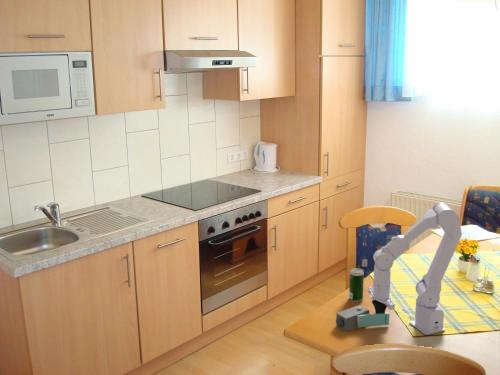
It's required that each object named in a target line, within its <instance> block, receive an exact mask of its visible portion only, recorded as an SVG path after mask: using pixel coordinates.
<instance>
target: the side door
mask: <svg viewBox="0 0 500 375" xmlns="http://www.w3.org/2000/svg"><path fill="white" fill-rule="evenodd" d="M389 325H390V312H385V313H377V314H375V313H369V314H366V315H357V328H358V329H359V328H367V327H369V328H370V327H380V326H389Z"/></svg>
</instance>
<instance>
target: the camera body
mask: <svg viewBox="0 0 500 375" xmlns="http://www.w3.org/2000/svg"><path fill="white" fill-rule="evenodd" d="M366 314H370V309H368V308H366V307H364V306H362V305H360V304H358V305H355V306H353V307H350V308H346V309H344V310H341V311H338V312H336V314H335V316H336V318H335V325H336V327H337V328H339V329H341V330H342V331H344V332H348V331H352V330H354V329H357V328H358V327H357V315H366Z"/></svg>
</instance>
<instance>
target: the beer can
mask: <svg viewBox="0 0 500 375" xmlns="http://www.w3.org/2000/svg"><path fill="white" fill-rule="evenodd" d="M364 273H365V272H364V269H362V268H360V267H359V268H357V267H355V268H354V267H353V268H351V269H350V271H349V282H348V283H349V287H348V288H349V289H348V292H349V293H348V297H349V300H350V301H351V302H354V303H358V302H362V301H363V299H364V280H365V279H364V275H365V274H364Z"/></svg>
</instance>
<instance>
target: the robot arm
mask: <svg viewBox="0 0 500 375" xmlns="http://www.w3.org/2000/svg"><path fill="white" fill-rule="evenodd" d="M439 226H440V227H441V229H442V231H443V233H444V234H443V236H442V238H441V240H440V243H439V245H438V247H437V249H436V252H435V254H434V257H433V259H432V261H431V263H430V265H429V268H428V269H427V270H428V271H427V273H426V274H424V275H423V276H422V278H421V279H420V280H419V281H418V282H417V283H416V285H415V292H416V293H417V297H416V300H415V314H414V316H415V317H414V320H411V321H409V324H410V325H411V326H413V327H415V328H416V329H417V330H419V331H420V332H421V333H422V334H424V335H432V334H437V333H440V332H445V331H446V328H444V318H445V316H444V315H445V314H444V311H443V310H442V309H441V308H440V307H439V303H440V299H441V298H440V295H441V294H440V293H441V291H442V281H443V278H444V276H445V274H446V272H447V270H448V268H449V265H450V263H451V260H452V259H453V256H454V254H455V251H456V249H457V247H458V245H459V243H460V241H461V238H462V236H463V235H462V234H463V233H462V227H461V218H460V217H459V215H458V214H457V212H456V211H454V210H453V209H452V207H451V206H450V205H449V204H447V203H446V202H443V201H442V202H437V203H435V204H434V205H433V206H432V207H431V208H429V209H427V210H426V213H424V214H423V216H421V217H420V218H419V220H417V221H416V222H415V223H414V224H413V225H411V227H410V228H409V229H408V230H407V231H405V233H403V234H397V235H396V236H391V238H390V239H391V240H390V241H389V242H388V243H387V244H385V245H384V246H382V247H380V248H379V249H377V250H376V251H375V252H374V254H373V255H372V259H373V261H374V267H373V277H372V278H373V279H372V280H373V281H372V286H370V287H367V293H368V294H370V296H369V299H371V303H372V305H373V308H374V311H375V312H374V314H377V313H386V309H388V310H389V311H391V310H395V309H396V304H395V302H394V301H393V299H392V297H391V295H390V294H391V276H392V275H391V273H392V272H391V268H393V265H394V261H396V260H397V259H399V257H400V256H402V255H403V254H404V253H405V252H406V251H408V250H409V249H410V248H411V247H410V245H411V242H414V240H416V239H417V238H418V237H420V236H421V235H422V234H423V233H425V232H426V231H427V230H429V229H440V227H439Z"/></svg>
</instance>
